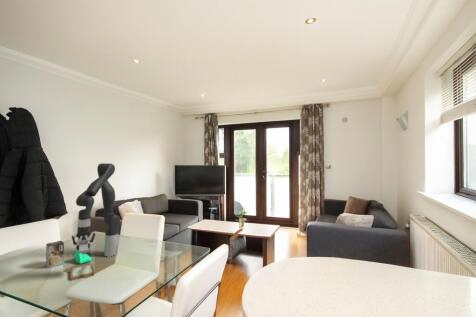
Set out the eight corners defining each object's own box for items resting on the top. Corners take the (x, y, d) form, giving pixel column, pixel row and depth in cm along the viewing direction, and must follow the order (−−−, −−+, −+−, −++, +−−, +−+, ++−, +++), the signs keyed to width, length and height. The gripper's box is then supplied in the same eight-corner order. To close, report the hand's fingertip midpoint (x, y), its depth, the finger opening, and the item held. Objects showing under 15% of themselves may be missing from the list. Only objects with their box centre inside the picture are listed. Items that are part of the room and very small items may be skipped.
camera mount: (91, 261, 182) (92, 248, 182) (80, 265, 176) (81, 251, 176) (84, 256, 190) (85, 243, 189) (73, 259, 183) (74, 246, 183)
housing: (86, 247, 169) (87, 238, 169) (87, 252, 163) (88, 242, 163) (78, 249, 166) (78, 239, 166) (78, 253, 160) (79, 244, 160)
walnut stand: (91, 267, 174) (92, 264, 174) (93, 275, 164) (94, 272, 164) (70, 271, 167) (70, 268, 166) (70, 280, 156) (70, 277, 156)
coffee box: (60, 261, 179) (61, 240, 179) (63, 264, 175) (64, 242, 175) (45, 265, 172) (46, 243, 171) (48, 268, 168) (49, 246, 167)
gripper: (95, 222, 171) (94, 245, 172) (71, 224, 163) (70, 249, 163) (96, 225, 165) (95, 249, 166) (71, 228, 157) (70, 253, 157)
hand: (83, 249), depth 165 cm, fingers closed on housing, 5 cm apart
